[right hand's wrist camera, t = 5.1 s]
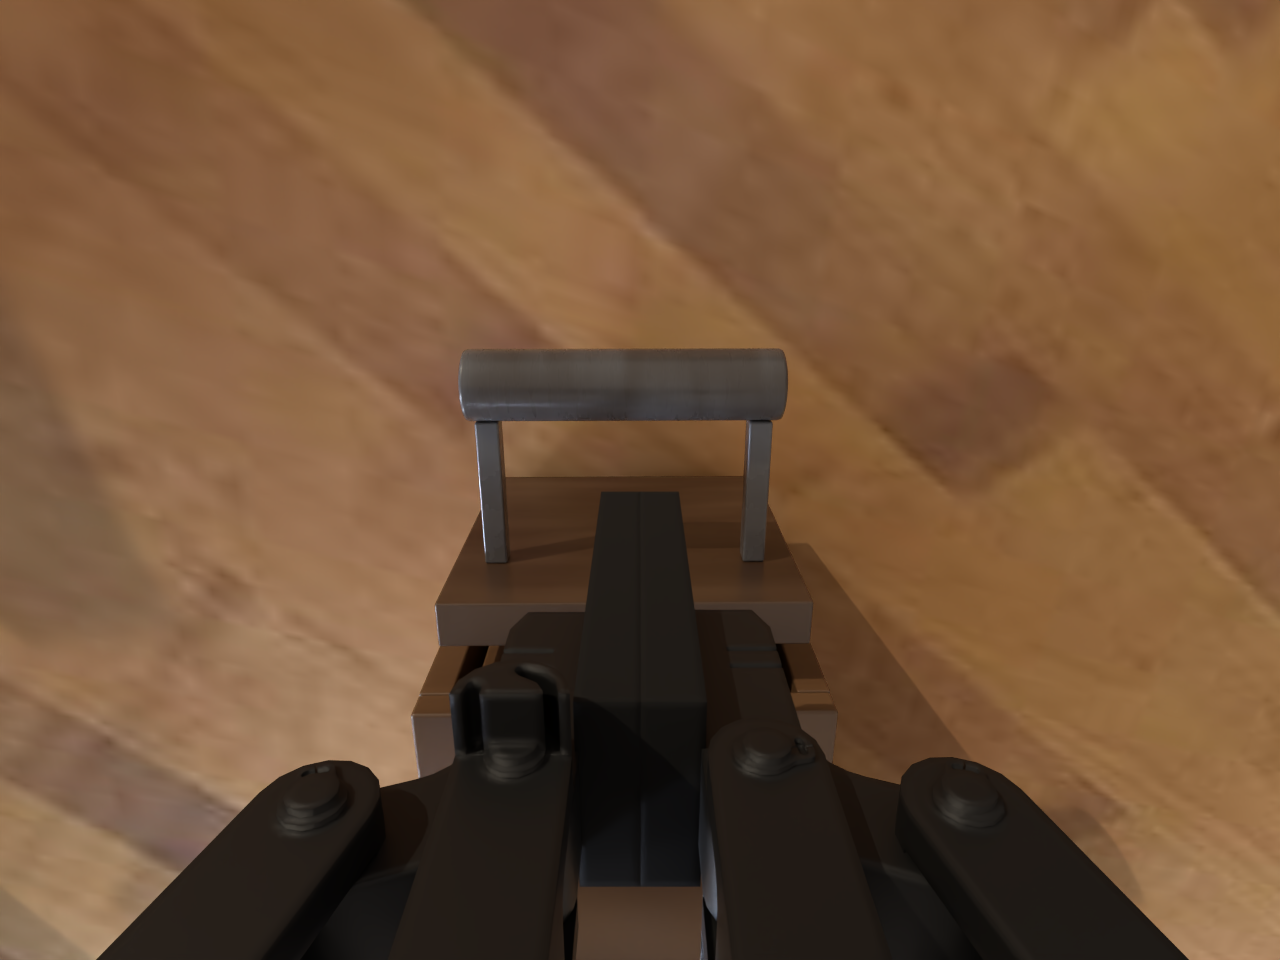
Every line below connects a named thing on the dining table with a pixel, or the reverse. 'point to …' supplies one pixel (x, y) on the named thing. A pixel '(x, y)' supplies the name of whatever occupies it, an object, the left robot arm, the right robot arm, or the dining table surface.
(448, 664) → the cabinet
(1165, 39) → the dining table surface
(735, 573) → the drawer
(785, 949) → the right robot arm
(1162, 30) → the dining table surface
